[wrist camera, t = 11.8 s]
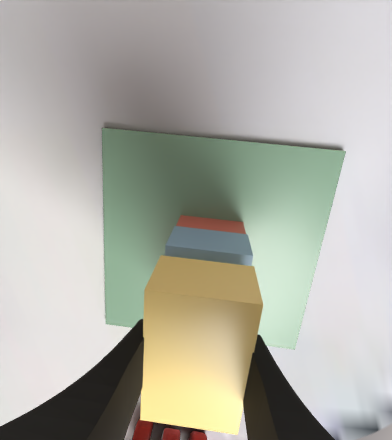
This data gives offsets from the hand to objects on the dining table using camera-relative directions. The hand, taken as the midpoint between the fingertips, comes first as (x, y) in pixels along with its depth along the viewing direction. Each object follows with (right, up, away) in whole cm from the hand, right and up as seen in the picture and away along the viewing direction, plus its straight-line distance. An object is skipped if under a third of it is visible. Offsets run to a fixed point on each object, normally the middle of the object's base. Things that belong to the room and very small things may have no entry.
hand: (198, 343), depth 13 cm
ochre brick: (0, +1, +1) cm, 2 cm away
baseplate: (+1, +4, +8) cm, 9 cm away
